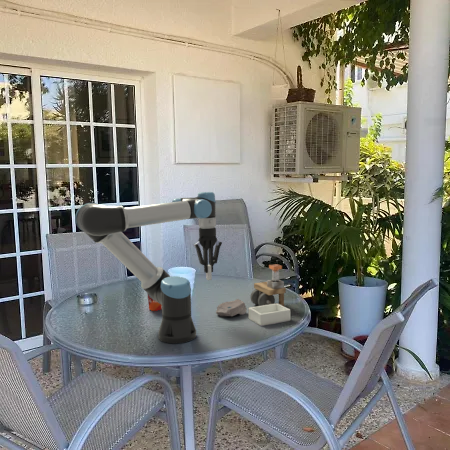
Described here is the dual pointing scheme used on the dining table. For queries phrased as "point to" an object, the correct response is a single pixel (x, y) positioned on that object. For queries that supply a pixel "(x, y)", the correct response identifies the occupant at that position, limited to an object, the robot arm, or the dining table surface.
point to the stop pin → (275, 272)
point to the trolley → (268, 293)
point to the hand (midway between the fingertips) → (208, 279)
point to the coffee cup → (153, 304)
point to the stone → (231, 308)
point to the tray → (269, 314)
